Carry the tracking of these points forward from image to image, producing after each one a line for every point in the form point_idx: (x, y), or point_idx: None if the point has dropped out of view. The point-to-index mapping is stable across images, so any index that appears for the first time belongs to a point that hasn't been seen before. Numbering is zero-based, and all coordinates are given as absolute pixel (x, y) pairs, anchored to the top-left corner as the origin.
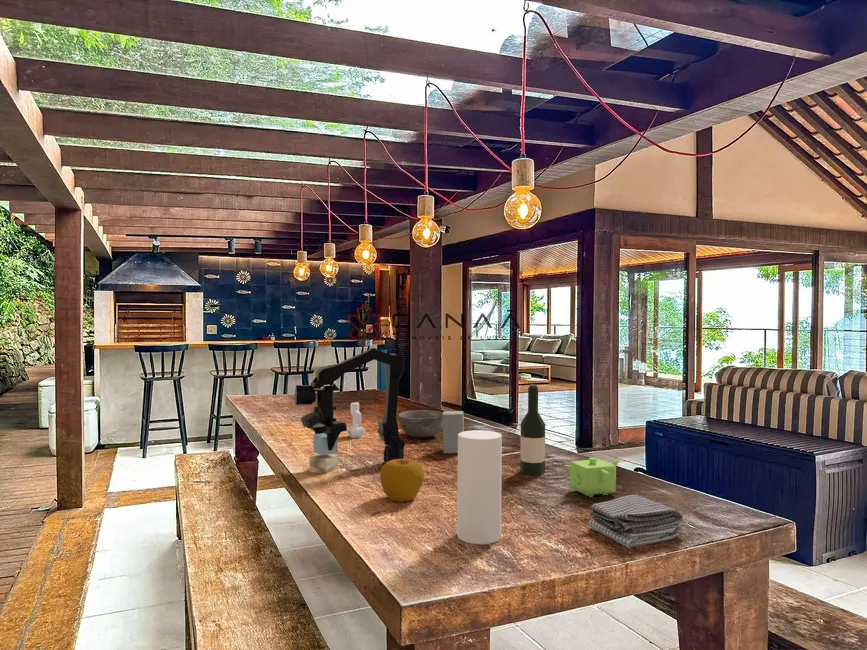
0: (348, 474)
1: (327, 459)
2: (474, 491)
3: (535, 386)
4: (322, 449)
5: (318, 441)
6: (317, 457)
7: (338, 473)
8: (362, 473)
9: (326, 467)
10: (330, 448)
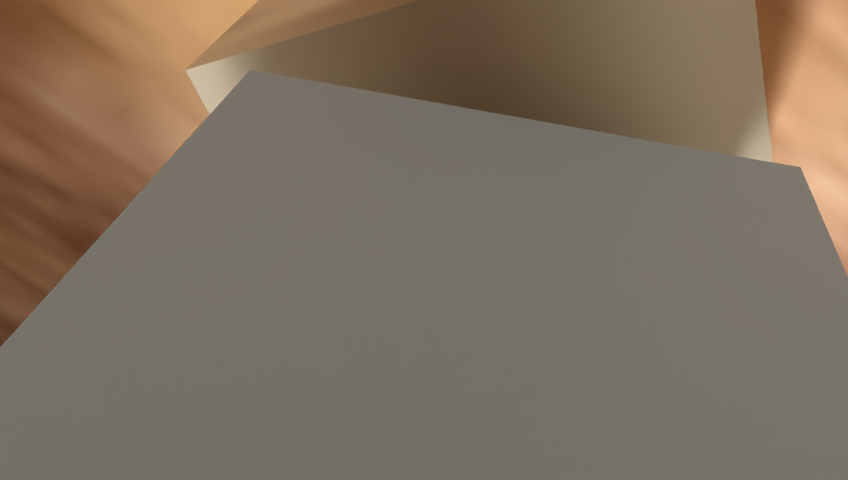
0: (72, 153)
1: (207, 101)
2: None
3: None
4: (178, 168)
5: (378, 403)
6: (522, 55)
7: (196, 101)
8: (33, 277)
9: (260, 2)
10: None
